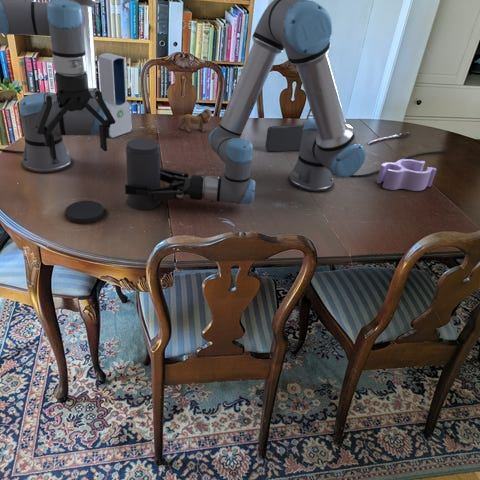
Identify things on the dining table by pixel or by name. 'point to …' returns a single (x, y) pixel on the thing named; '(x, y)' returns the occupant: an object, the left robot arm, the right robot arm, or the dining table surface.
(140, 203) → the jar
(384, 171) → the clip
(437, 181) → the dining table surface
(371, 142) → the sword
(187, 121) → the lion figurine
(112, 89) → the electronic device
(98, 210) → the lid
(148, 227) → the dining table surface
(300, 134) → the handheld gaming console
